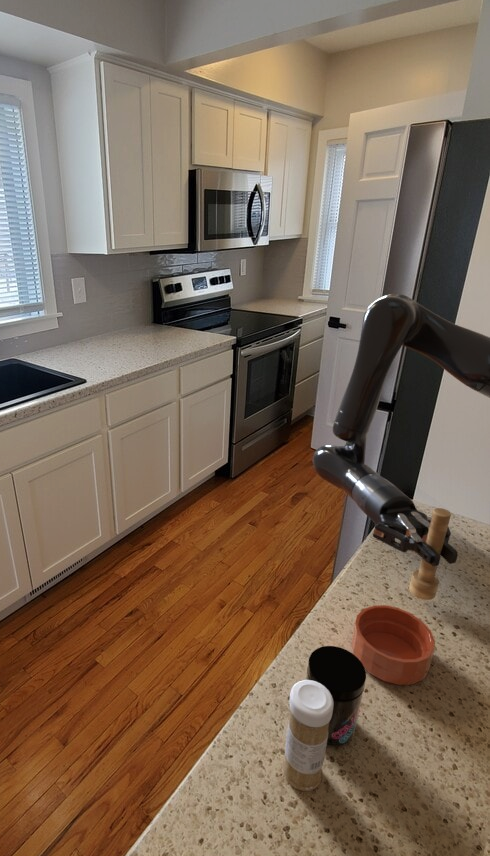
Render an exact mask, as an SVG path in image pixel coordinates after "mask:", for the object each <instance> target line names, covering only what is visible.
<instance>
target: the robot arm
mask: <svg viewBox="0 0 490 856" xmlns="http://www.w3.org/2000/svg"><path fill="white" fill-rule="evenodd" d="M402 347H405V348H407V349H410V350H412V351H415V352H417V353H419V354H421V355H423V356H425V357H427V358H429V359H430V360H432V361H433V362H434V363H436V364H437V365H438V366H440V367H441V368H442V369H443V370H445V371H446V372H447V374H450V375H451V376H452V377H453V378H455V379H456V380H457V381H459V382H460V383H462V384H463V385H464V386H466V387H468V388H470V389H471V390H473V391H475V392H477V393H479V394H481V395H483V396H485V397H487V398H489V399H490V336H488V335H485V334H483V333H480V332H477V331H475V330H472V329H469V328H466V327H464V326H460V325H459V324H456V323H453V322H452V321H449V320H447V319H445V318H443V317H442V316H440V315H438V314H437V313H435V312H433V311H431V310H430V309H428V308H426V307H425V306H423V305H422V304H420V303H419V302H417V301H415V300H414V299H413V298H410V297H409V296H407V295H404V294H401V293H389V294H386V295H383V296H381V297H379V298H378V299H376V300H375V301H373V302H372V303H371V304H370V305H369V306H368V307H367V308H366V310H365V312H364V314H363V316H362V325H361V332H360V338H359V344H358V349H357V354H356V358H355V362H354V365H353V369H352V373H351V376H350V378H349V380H348V384H347V386H346V389H345V391H344V394H343V396H342V399H341V402H340V405H339V407H338V410H337V413H336V415H335V419H334V421H333V424H332V434H333V435H334V436H335V437H337V438H338V439H339V440H341V441H344V442H345V444H344V445H333V444H332V445H331V444H330V445H327V444H325V445H322V446H319V447H318V448H316V450H315V452H314V453H313V456H312V466H313V469H314V471H315V473H316V474H317V475H318V476H319V477H320V478H321V479H322V480H324V481H326V482H327V483H329V484H331V485H332V486H334V487H336V488H338V489H340V490H342V491H344V492H345V493H346V494H347V496H348V497H350V498H351V499H352V500H353V501H354V503H355V504H356V505H357V507H358V508H359V509H360V510H361V511H362V512H363V513H364V514H365V515H366V516H367V517H368V518H369V519H370V520H371V521H372V522H373V523H374V527H373V532H372V537H373V538H374V539H376V540H378V541H380V542H382V543H384V544H386V545H388V546H390V547H392V548H393V549H395V550H397V551H400V552H402V553H408V551H411V552H412V553H414V554H417V555H418V556H419V557H420V558H421V559H422V558H423V559H424V560H425V561H426V562H427V563H429V564H431V565H432V566H437V567H438V566H439V565H440V562H441V557H442V558H443V559H444V560H445V562H447V563H448V564H449V565H451V564H456V562H457V559H458V557H459V556H458V555H459V552H458V550H457V549H456V548H454V547H453V546H452V545H451V544H450V543H449V541H450V537H451V535H452V532H451V529H450V527H449V526H448V528H447V532H446V536H445V539H444V543H443V547H442V551H441V555H439V554H438V553H437V552H436V551H435V550H434V549H433V548H432V547H431V546H430V545H428V544H427V543H426V540H427V536H428V531H429V527H430V523H431V519H432V516H428V515H427V514H426V513H424V512H422V511H420V510H418V509H417V507H416V505H415V503H414V501H413V500H412V498H410V497H409V496H407V495H406V494H405V493H404V492H403V491H402V490H400V489H399V488H398V487H397V486H396V485H395V484H393V483H392V482H390V481H389V480H388V479H386V478H384V477H383V476H381V475H380V474H379V473H378V472H376V471H375V470H374V469H373V468H372V467H370V466H368V465H367V464H366V449H367V439H368V433H369V431H370V428H371V426H372V423H373V421H374V419H375V415H376V413H377V410H378V406H379V403H380V400H381V395H382V392H383V388H384V385H385V381H386V379H387V377H388V373H389V371H390V368H391V366H392V365H393V362H394V360H395V359H396V357H397V355H398V354H399V352H400V350H401V349H402ZM397 540H398V541H400V542H398V541H397Z"/></svg>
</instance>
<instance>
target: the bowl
mask: <svg viewBox="0 0 490 856" xmlns="http://www.w3.org/2000/svg"><path fill="white" fill-rule="evenodd" d="M350 646H351V650H352V654H354V655H355V656H356V657H357V658H358V659H359V660H360V661H361V663H362V664H363V666H364V668H365V671H367V672H368V673H369V674H371V675H372V676H374V677H376V678H378V679H379V680H382V681H383V682H385V683H386V682H387V683H390V684H395V685H399V686H400V685H402V686H403V685H405V686H406V685H415V684H416V683H418V682H421V681H423V680H424V679H425V678H426V676H427V675H428V674H429V672H430V669H431V664H432V660H433V657H434V653H435V646H436V640H435V638H434V635H433V633H432V631H431V629H430V628H429V627H428V626H427V624H425V622H424V621H422V620H421V619H420V618H418V617H417V616H416V615H414V614H413V613H411V612H408V611H406V610H403V609H402V608H399V607H396V606H392V605H386V604H381V605H376V604H375V605H371V606H368V607H365V608H363V609H362V610H361V611H360V612H359V613H357V615H356V618H355V621H354V626H353V632H352V637H351V644H350Z"/></svg>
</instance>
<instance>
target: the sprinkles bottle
mask: <svg viewBox="0 0 490 856" xmlns="http://www.w3.org/2000/svg"><path fill="white" fill-rule="evenodd" d="M288 701H289V702H288V706H289V717H288V722H287V729H286V737H285V738H286V739H285V746H284V747H285V748H284V760H283V763H282V770H283V771H282V772H283V775H284V777H285V779H286V780H287V782H288V783H289V785H291V786H292V788H293V789H294V788H295V789H296V790H298V791H302V792H311V791H313V790H315V789H316V788H318V787H319V785H320V783H321V781H322V780H321V779H322V769H323V766H324V762H325V756H326V752H327V751H326V750H327V739H328V727H329V722H330V720H331V718H332V713H333V698H332V695H331V694H330V692H329V691H328V689H327V688H326V687H325V686H323V685H322V684H320V683H318V682H316V681H312V680H307V679H303V680H299V681H297V682H296V683H295V684H294V685H292V687H291V689H290V694H289V700H288Z"/></svg>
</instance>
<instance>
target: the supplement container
mask: <svg viewBox="0 0 490 856" xmlns="http://www.w3.org/2000/svg"><path fill="white" fill-rule="evenodd" d="M366 671H367V670H366V669H365V668H364V666H363V664H362V663H361V661H360V660H359V659H358V658H357V657H356V656H355V655H354V654H353V652H351V651H349V650H347V649H345V648H343V647H340V646H334V645H324V646H320V647H317V648H316V649H314V650H312V652H311V653H310V655H309V656H308V662H307V668H306V680H312V681H316V682H318V683H320V684H322V685H323V686H325V687H326V688H327V689H328V691H329V692H330V694H331V695H332V698H333V713H332V718H331V720H330V722H329V727H328V739H327V745H326V747H333V748H337V747H342V746H345V745H346V744H348V743H350V742H351V741H352V740H353V738H354V736H355V735H356V729H357V724H358V718H359V714H360V708H361V703H362V700H363V699H362V698H363V693H364V692H365V686H366V680H367V672H366Z"/></svg>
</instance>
